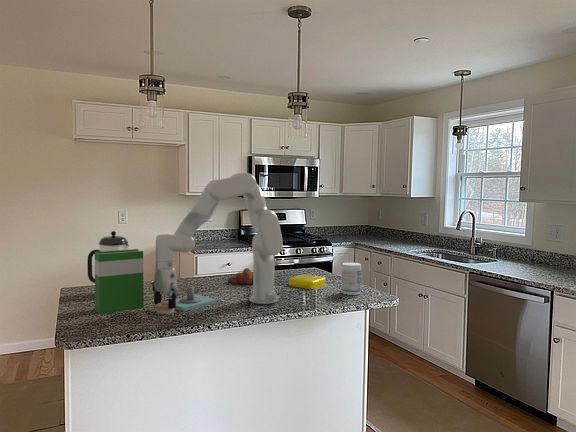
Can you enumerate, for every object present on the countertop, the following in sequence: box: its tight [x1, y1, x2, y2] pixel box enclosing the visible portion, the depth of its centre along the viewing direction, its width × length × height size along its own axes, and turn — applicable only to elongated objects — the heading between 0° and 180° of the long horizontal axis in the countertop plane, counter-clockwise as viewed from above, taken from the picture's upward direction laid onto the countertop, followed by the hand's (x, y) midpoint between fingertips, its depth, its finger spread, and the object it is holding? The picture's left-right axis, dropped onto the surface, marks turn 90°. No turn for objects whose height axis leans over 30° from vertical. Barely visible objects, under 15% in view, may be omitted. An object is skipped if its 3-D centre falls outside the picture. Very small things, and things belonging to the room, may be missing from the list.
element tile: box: [289, 273, 327, 290], centre depth 236 cm, size 15×15×5 cm
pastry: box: [227, 267, 253, 286], centre depth 239 cm, size 17×15×8 cm
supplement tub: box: [341, 262, 362, 296], centre depth 218 cm, size 10×10×15 cm
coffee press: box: [87, 230, 131, 284], centre depth 208 cm, size 17×16×30 cm
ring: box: [155, 301, 175, 315], centre depth 182 cm, size 7×7×3 cm
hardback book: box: [94, 248, 145, 315], centre depth 185 cm, size 18×7×24 cm, turn 125°
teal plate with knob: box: [164, 286, 218, 312], centre depth 194 cm, size 14×18×8 cm
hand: (164, 305), depth 182 cm, fingers open, 9 cm apart
